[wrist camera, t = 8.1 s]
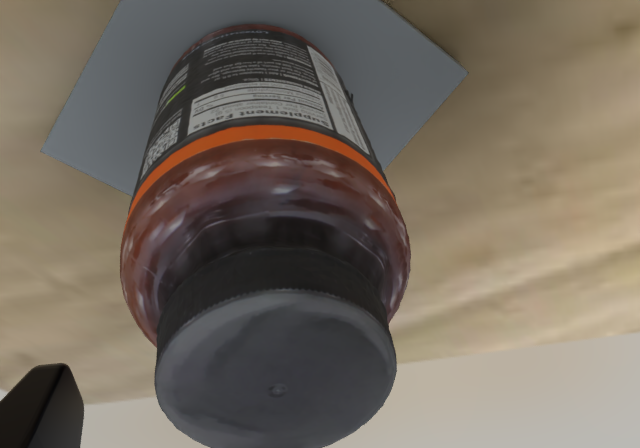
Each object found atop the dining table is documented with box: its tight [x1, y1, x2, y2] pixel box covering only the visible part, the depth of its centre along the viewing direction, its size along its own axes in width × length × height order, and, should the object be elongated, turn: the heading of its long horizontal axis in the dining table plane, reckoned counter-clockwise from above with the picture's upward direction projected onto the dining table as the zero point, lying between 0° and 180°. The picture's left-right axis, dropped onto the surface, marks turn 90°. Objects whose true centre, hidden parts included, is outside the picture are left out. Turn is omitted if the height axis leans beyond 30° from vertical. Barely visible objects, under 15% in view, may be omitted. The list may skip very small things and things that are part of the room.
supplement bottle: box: [120, 24, 411, 448], centre depth 14 cm, size 6×6×11 cm
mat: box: [40, 0, 468, 197], centre depth 19 cm, size 10×10×1 cm
